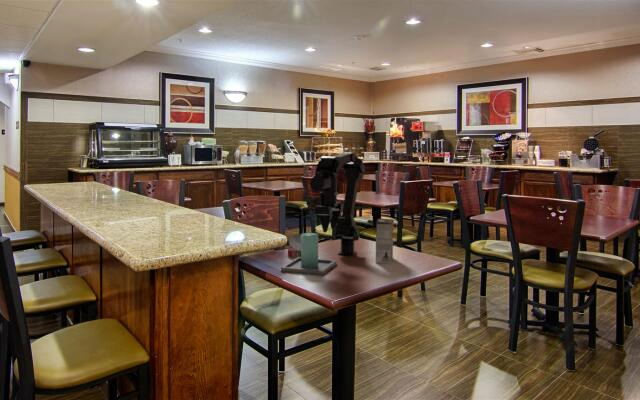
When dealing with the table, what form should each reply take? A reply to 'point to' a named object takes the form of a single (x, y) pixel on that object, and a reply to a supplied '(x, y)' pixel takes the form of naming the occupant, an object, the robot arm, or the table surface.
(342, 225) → the robot arm
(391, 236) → the coffee box
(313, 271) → the tray
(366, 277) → the table surface
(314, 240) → the green rounded cylinder
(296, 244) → the canned food
